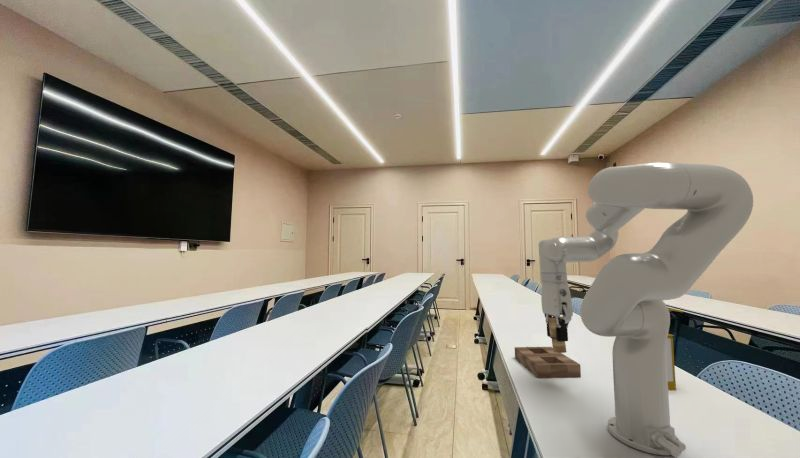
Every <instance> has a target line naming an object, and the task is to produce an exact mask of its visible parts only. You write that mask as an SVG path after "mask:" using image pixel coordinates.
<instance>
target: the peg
mask: <svg viewBox="0 0 800 458" xmlns="http://www.w3.org/2000/svg"><path fill="white" fill-rule="evenodd" d="M561 320H562V319H560V322H561ZM548 322H549V330H550V337H549V338H550V339H551V345H552V348H553V352H557V353H562V354H564V353H565V354H566V353H567V346H566V341H557V337H556V327H557V322H556V317H553V316H552V317H548Z"/></svg>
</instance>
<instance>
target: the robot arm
mask: <svg viewBox="0 0 800 458" xmlns="http://www.w3.org/2000/svg"><path fill="white" fill-rule="evenodd" d="M587 193H588V196H589V198H590V200H591V201H592V202H593V203H592V204H591V205H590V206H588V208H587V210H586V212H585V218H586V220H587V222H588V224H589V225H590V226H591V227H592V228H593V229H594V230H593V231H592V232H591V233H590V234H588V235H587V236H558V237H554V238H549V239H548V238H547V239H541V240H539V241H538V257H539V259H538V260H539V275H540V278H539V279H540V284H541V296H540V297H541V300H540V302H541V310H542V313H543V315H544V318H545V324H546V335H547V338H548V337H549V338H550V330H549V322H548V317H556V322H557V327H556V337H557V341H565V342H568V341H569V335H568V328H569V323H570V322H571V321H572V319H573V318H572V317H573V315H574V311H573V310H574V309H573V302H572V295H571V290H570V287H569V283H568V270H567V263H591V262H595V261H597V260H599V259H601V258H602V257H603V256H605V255H606V254H607V253H609V252H610V251H612V249H613V248H614V247H615V245H616V243H617V241H618V238H619V230H621V229H622V228H623V227H624V226H625V225H627V224H628V223H629V222H630V221H631V220H633V219H634V218H635V217H636V216H637V215H638V214H640V213H641V212H643V211H644V210H645V209H650V210H651V209H653V210H683V211H684V210H686V213H685V214H684V215H683V216H681V217H680V218H679V219H678V220H676V221H674V223H672V224H671V225H670V226H669V227H667V228H666V229H665V231H664V232H663V233H662V234H661V236H660V237H659V239H658V240H657V242H656V243H655V244H654V245H653V247H652V248H650V250H648V251H646V252H640V253H639V252H638V253H636V252H635V253H624V254H618V255H616V256H614V257H612V258H611V259H609V260H608V261H607V262H605V264H604V265H603V266H602V267H601V269H600V271H599V272H598V273H597V275H596V277H595V279H594V280H593V281H592V283H591V285H590V287H589V288H588V290H587V292H586V293H585V295H584V297H583V298H582V301H581V304H580V310H579V311H580V319H581V322H582V323H583V326H584V327H585V328H586V329H587V330H589V332H590V333H592V334H594V335H596V336H599V337H611V338H612V337H615V338H614V341H613V346H612V374H613V375H612V376H613V377H612V379H613V397H614V398H613V399H614V416H613V417H611V418H609V419H608V420H607V422H606V423H607V430H608V431H609V433H610V434H611V435H612V436H613V437H614V438H615V439H617V440H618V441H620V442H621V443H623V444H625V445H627V446H630V447H631V448H634V449H635V450H638V451H642V452H644V453H648V454H651V455H658V456H673V457H675V458H677V457H679V456H680V454H681V452H682V451H685V450H686V444H685V443H683V442H682V441H681V440H680V438H679V437H678V436H677V435H676V434H675V433H676V431H675V427H673V426H671V416H670V400H669V390H668V379H667V356H666V346H667V337H668V334H669V331H670V326H671V314H670V310H668V309H669V308H668V306H667V304H666V303H665V301H668V300H676V299H678V298H679V299H680V298H682V296H684V295H685V294H686V293H687V292H688V291H689V290H690V289H691V288H692V287H693V285H694V284H695V283H696V282H697V281H698V280H699V278H700V277H701V276H702V275H703V273H705V271H706V270H707V269H708V268H709V267H710V266H711V264H712V263H713V262H714V260H716V259H717V257H718V256H719V255H720V254H721V252H722V251H723V250H724V249H725V248H726V247H727V245H729V243H731V242H732V240H733V239H734V238H735V237H736V236H737V235H738V233H740V231H741V230H742V229H743V228H744V227H745V226H746V224H747V222H748V220H749V218H750V217H751V214H752V212H753V207H754V196H753V191H752V189H751V186H750V185H749V182H748V181H747V180H746V179H745V178H744V177H743V176H742V175H741V174H739V173H738V172H737V171H735V170H734V169H733V170H732V169H730V168H729V167H724V166H720V165H715V164H706V163H705V164H703V163H687V162H685V163H684V162H683V163H682V162H681V163H680V162H649V163H647V162H646V163H638V164H631V165H622V166H621V165H618V166H610V167H606V168H603V169H601V170H600V171H598V172H597V173H596V174H595V175H594V176H593V177H592V179H590V182H589V185H588V189H587ZM560 319H562V320H561V322H560Z"/></svg>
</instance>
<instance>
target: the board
mask: <svg viewBox="0 0 800 458" xmlns="http://www.w3.org/2000/svg"><path fill="white" fill-rule="evenodd" d="M514 359H516V360H517V361H518V362H519V363H520V364H521V365H522V366H523V367H524V368H526V370H528V371H529V372H530V373H532V374H533V376H535V377H536V378H537V379H553V378H554V379H561V378H562V379H565V378H566V379H567V378H575V379H576V378H581V376H582V374H581V371H582V369H581V364H580V363H579V362H577V361H575V360H573V359H572V358H570V357H569V356H567V355H565V354H564V353H557V352H553V346H515V347H514Z"/></svg>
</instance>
